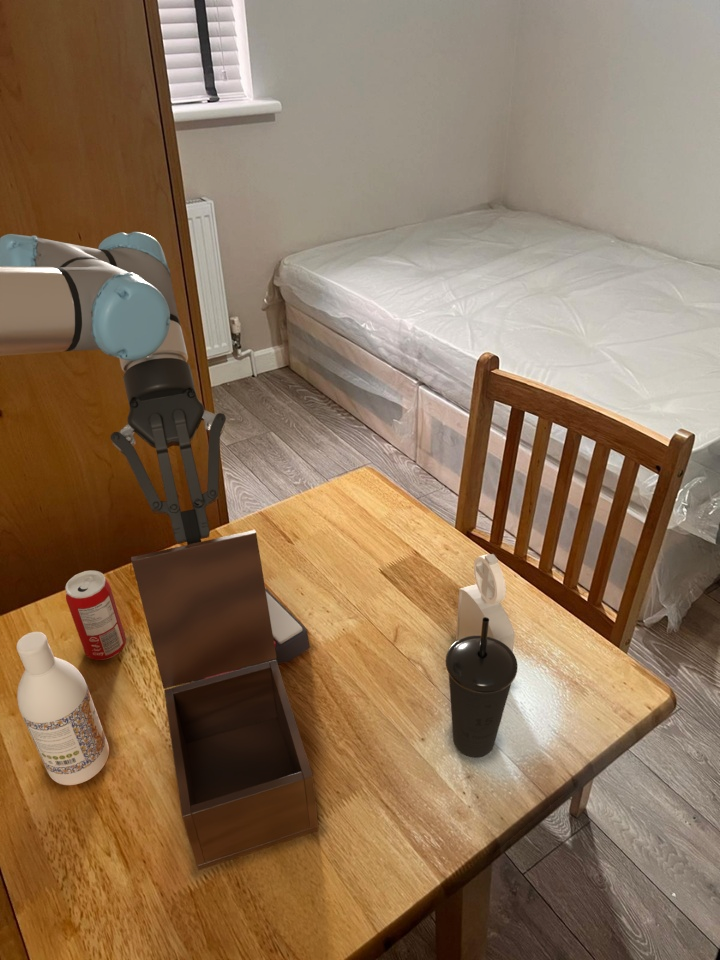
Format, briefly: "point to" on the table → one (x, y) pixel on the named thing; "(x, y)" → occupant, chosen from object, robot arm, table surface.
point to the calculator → (283, 633)
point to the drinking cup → (478, 690)
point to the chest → (239, 764)
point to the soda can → (95, 615)
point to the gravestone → (485, 603)
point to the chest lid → (205, 607)
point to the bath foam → (59, 713)
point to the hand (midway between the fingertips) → (200, 569)
